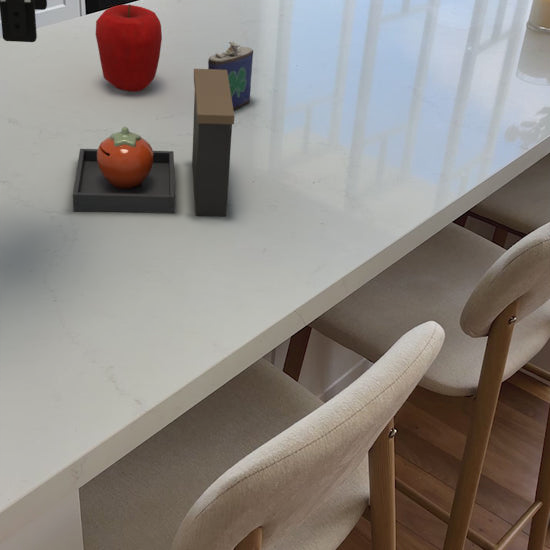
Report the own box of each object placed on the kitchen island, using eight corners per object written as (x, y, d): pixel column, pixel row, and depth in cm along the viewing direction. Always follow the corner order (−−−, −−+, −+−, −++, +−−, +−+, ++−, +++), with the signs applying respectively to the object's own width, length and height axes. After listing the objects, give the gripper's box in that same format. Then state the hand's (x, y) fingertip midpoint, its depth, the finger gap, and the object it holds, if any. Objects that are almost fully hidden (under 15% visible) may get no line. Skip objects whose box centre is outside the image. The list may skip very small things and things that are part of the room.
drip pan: (73, 211, 112) (72, 194, 111) (80, 164, 123) (80, 148, 121) (174, 212, 114) (174, 196, 113) (173, 166, 124) (173, 151, 123)
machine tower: (193, 216, 114) (197, 114, 106) (190, 164, 125) (193, 68, 117) (228, 217, 114) (234, 115, 106) (221, 164, 126) (227, 69, 118)
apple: (94, 74, 149) (92, -7, 141) (155, 73, 151) (156, -7, 144) (100, 100, 140) (98, 15, 133) (165, 98, 143) (166, 15, 135)
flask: (242, 97, 146) (246, 33, 140) (255, 103, 145) (260, 39, 138) (202, 112, 140) (205, 46, 134) (215, 118, 139) (219, 52, 132)
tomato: (90, 173, 119) (88, 118, 115) (144, 166, 122) (144, 112, 117) (105, 199, 114) (104, 143, 109) (161, 191, 116) (162, 136, 112)
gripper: (-15, -176, 88) (0, -5, 98) (-48, -144, 74) (-26, 53, 84) (62, -170, 89) (70, -1, 99) (44, -137, 75) (55, 56, 85)
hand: (26, 23), depth 92 cm, fingers open, 9 cm apart
